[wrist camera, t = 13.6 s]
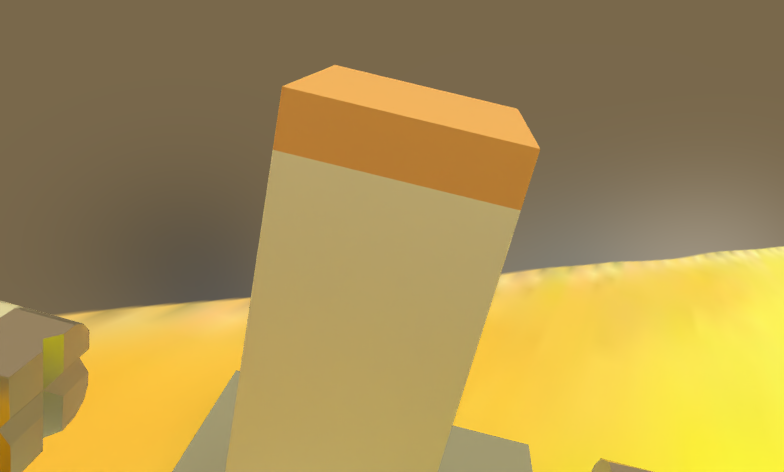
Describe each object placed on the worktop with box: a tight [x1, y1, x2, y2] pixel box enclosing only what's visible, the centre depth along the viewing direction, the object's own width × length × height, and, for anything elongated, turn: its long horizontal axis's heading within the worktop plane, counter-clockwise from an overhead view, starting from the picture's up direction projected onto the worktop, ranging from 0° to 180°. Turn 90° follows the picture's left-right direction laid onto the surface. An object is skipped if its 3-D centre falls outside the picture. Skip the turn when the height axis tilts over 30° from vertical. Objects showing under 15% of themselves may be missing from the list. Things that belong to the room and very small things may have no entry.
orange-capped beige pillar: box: [225, 65, 540, 472], centre depth 13 cm, size 4×4×12 cm
